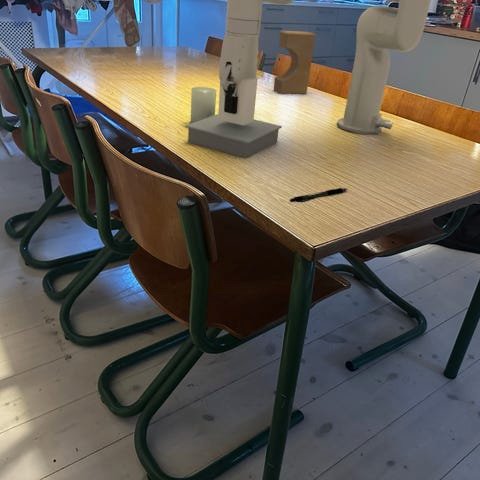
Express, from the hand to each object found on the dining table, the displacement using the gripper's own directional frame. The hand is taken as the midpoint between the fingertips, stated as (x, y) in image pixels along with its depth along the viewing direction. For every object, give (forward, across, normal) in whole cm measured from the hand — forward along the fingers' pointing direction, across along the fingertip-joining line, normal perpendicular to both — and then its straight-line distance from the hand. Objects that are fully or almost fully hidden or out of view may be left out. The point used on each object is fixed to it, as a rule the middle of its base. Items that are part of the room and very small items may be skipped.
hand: (236, 109), depth 114 cm
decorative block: (+8, -63, -14) cm, 65 cm away
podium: (+8, 0, 0) cm, 8 cm away
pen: (+8, +17, +30) cm, 35 cm away
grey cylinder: (+8, -7, -14) cm, 17 cm away
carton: (+3, 0, 0) cm, 3 cm away
